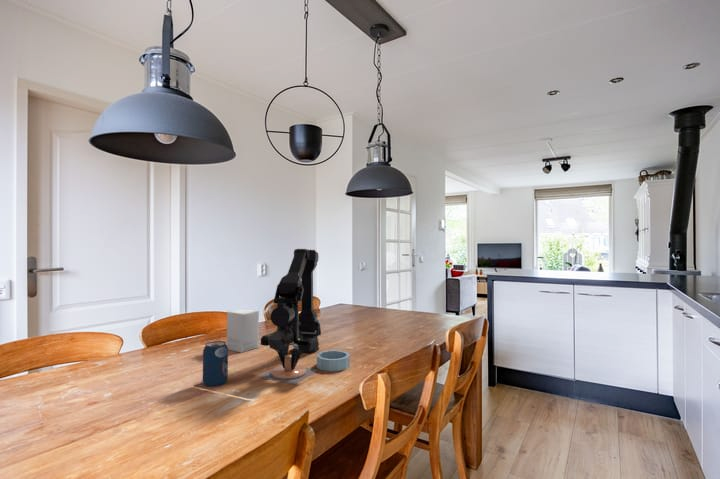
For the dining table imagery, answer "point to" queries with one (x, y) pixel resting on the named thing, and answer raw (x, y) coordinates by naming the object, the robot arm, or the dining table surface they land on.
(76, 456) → the dining table surface
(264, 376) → the mat
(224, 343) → the soda can
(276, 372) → the lid
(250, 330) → the supplement box
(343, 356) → the bowl
